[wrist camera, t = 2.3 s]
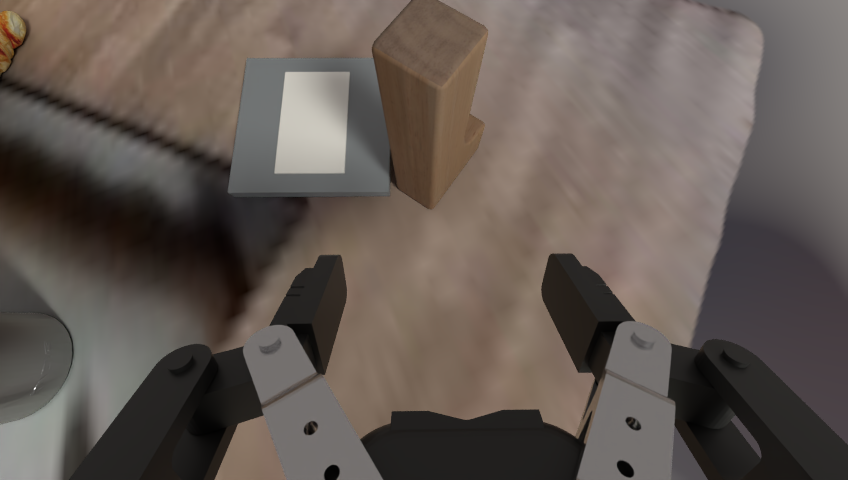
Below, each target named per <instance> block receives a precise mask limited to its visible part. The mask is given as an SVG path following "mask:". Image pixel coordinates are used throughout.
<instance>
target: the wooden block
mask: <svg viewBox="0 0 848 480" xmlns="http://www.w3.org/2000/svg"><path fill="white" fill-rule="evenodd" d="M487 36H488V30H487V28H486V27H485V26H484V25H482V24H480V23H478V22H476V21H475V20H473V19H471V18H469V17H467V16H466V15H464V14H462V13H460V12H458V11H457V10H455V9H453V8H451V7H449V6H447V5H446V4H444V3H442V2H440V1H438V0H411V1H410V2H409V4H408V5H407V6H406V7H405V8H404V9H403V10H402V11H401V12H400V14H399V15H398V16H397V17H396V18H395V19H394V20H393V21H392V22H391V24H390V25H389V26H388V27H387V28H386V29H385V30H384V31H383V32H382V33H381V35H380V36H379V37H378V38H377V39H376V40H375V41H374V44H373V46H372V53H373V59H374V64H375V69H376V75H377V80H378V86H379V91H380V96H381V102H382V107H383V112H384V118H385V123H386V128H387V134H388V139H389V145H390V150H391V155H392V161H393V166H394V171H395V177H396V182H397V187H398V189H399V190H401V191H402V192H404V193H405V194H407V195H408V196H410V197H411V198H413V199H414V200H416V201H418V202H419V203H421V204H422V205H424V206H425V207H427V208H428V209H433V208H434V207H435V206H436V204H437V203H438V202H439V200H440V199H441V198H442V196H443V195H444V194H445V192H446V191H447V189H448V188H449V187H450V185H451V184H452V183H453V181H454V180H455V179H456V177H457V176H458V174H459V173H460V172H461V170H462V169H463V168H464V166H465V165H466V163H467V162H468V161H469V159H470V158H471V157H472V155H473V154H474V153H475V151H476V150H477V148H478V146H479V142H480V139H481V136H482V133H483V130H484V127H485V124H484V123H483V122H482V121H481V120H479V119H477V118H476V117H474V116H472V115H471V114H470V110H471V106H472V101H473V97H474V93H475V88H476V84H477V80H478V75H479V71H480V67H481V63H482V58H483V54H484V50H485V45H486V41H487Z"/></svg>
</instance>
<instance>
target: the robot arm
mask: <svg viewBox="0 0 848 480" xmlns="http://www.w3.org/2000/svg"><path fill="white" fill-rule="evenodd" d="M290 287H291V288H290V289H289V290H288V292H287V294H286V297H285V298H284V299H283V301H282V303H281V305H280V307H279V309H278V311H277V312H276V314H275V316H274V318H273V320H272V322H271V324H270V326H268V327H266V328H263V329H261V330H259V331H257V332H256V333H254V334H253V335H252V336H251V337H250V338H249V339H248V340H247V341H246V343H245V345H244V346H243V347H240V348H236V349H232V350H229V351H225V352H221V353H217V354H212V352H211V350H210V349H209V347H207V346H205V345H202V344H193V345H188V346H184V347H181V348H179V349H176V350H175V351H173V352H171V353H169V354H168V355H166V356H165V357H164V358H162V359H161V360H160V361H159V362H158V363H157V364H156V366H155V367H154V368H153V369H152V371H151V372H150V373H149V375H148V376H147V377H146V379H145V380H144V381H143V383H142V384H141V385H140V387H139V388H138V389H137V391H136V392H135V393H134V394H133V396H132V397H131V398H130V400H129V401H128V402H127V404H126V405H125V406H124V408H123V409H122V410H121V412H120V413H119V414H118V416H117V417H116V418H115V420H114V421H113V422H112V424H111V425H110V426H109V428H108V429H107V430H106V431H105V433H104V434H103V435H102V437H101V438H100V439H99V441H98V442H97V443H96V445H95V446H94V447H93V449H92V450H91V451H90V453H89V454H88V455H87V457H86V458H85V459H84V461H83V462H82V463H81V465H80V466H79V467H78V468H77V470H76V471H75V472H74V474H73V475H72V476H71V478H70V479H69V480H214V479H215V477H216V475H217V472H218V470H219V467H220V465H221V463H222V460H223V458H224V456H225V453H226V451H227V448H228V446H229V444H230V441H231V439H232V437H233V434H234V432H235V429H236V427H237V425H238V423H241V422H244V421H247V420H250V419H254V418H257V417H260V416H263V415H264V417H265V420H266V423H267V426H268V429H269V431H270V434H271V437H272V440H273V443H274V445H275V448H276V451H277V454H278V457H279V460H280V462H281V465H282V468H283V471H284V474H285V476H286V479H287V480H671V468H672V453H673V438H674V425H675V427H676V428H677V430H678V432H679V433H680V435H681V437H682V438H683V440H684V441H685V443H686V445H687V446H688V448H689V449H690V451H691V453H692V454H693V456H694V458H695V459H696V461H697V462H698V464H699V466H700V467H701V469H702V471H703V472H704V474H705V475H706V477H707V479H708V480H848V445H847V444H846V443H845V442H844V441H843V440H842V439H841V438H840V437H839V436H838V435H837V434H836V433H835V432H834V431H833V430H832V429H831V428H830V427H829V426H828V425H827V424H826V423H825V422H824V421H823V420H822V419H821V418H820V417H819V416H818V415H817V414H816V413H815V412H814V411H813V410H811V408H809V407H808V406H807V405H806V404H805V403H804V402H803V401H802V400H801V399H800V398H799V397H798V396H797V395H796V394H795V393H794V392H793V391H792V390H791V389H790V388H789V387H788V386H787V385H786V384H785V383H784V382H783V381H782V380H781V379H780V378H779V377H778V376H777V375H776V374H775V373H774V372H773V371H772V370H771V369H770V368H769V367H768V366H767V365H766V364H765V363H764V362H763V361H762V360H760V359H759V358H758V357H757V356H756V355H754V354H753V353H751V352H750V351H748V350H747V349H745V348H743V347H741V346H739V345H737V344H734V343H731V342H728V341H724V340H718V339H712V340H708V341H706V342H705V343H704V345H703V346H702V347H701V349H700V350H696V349H692V348H687V347H683V346H679V345H674V344H670V342H669V340H668V339H667V338H666V337H665V336H664V335H663V334H662V333H661V332H659V331H658V330H656V329H655V328H653V327H651V326H649V325H646V324H644V323H640V322H636V321H635V320H634V319H633V318H632V316H631V315H630V314H629V312H628V311H627V310H626V309H625V307H624V306H623V305H622V304H621V302H620V301H619V300H618V299H617V297H616V296H615V295H614V294H612V291H611V290H610V288H609V287H608V286H606V283H605V282H604V281H603V280H602V278H601V277H600V276H599V275H598V274H597V273H595V272H594V271H593V270H591V269H590V268H588V267H587V266H582V265H581V264H580V263H579V261H578V260H577V259H576V257H575V256H574V255H573V254H551V255H550V256H549V258H548V262H547V266H546V270H545V274H544V278H543V282H542V289H541V291H542V298H543V301H544V303H545V305H546V307H547V309H548V312H549V314H550V316H551V318H552V320H553V322H554V324H555V326H556V328H557V330H558V332H559V334H560V336H561V338H562V340H563V342H564V344H565V346H566V348H567V350H568V352H569V354H570V356H571V358H572V360H573V363H574V365H575V367H576V369H577V371H578V373H591V372H592V373H593V375H594V377H595V379H594V382H593V384H592V387H591V390H590V393H589V396H588V400H587V403H586V406H585V409H584V412H583V415H582V419H581V422H580V425H579V428H578V431H577V433H576V436H573V435H571V434H570V433H568V432H566V431H565V430H562V429H560V428H558V427H556V426H554V425H551V424H548V423H544V422H543V420H542V417H541V414H540V411H539V410H501V411H498V412H494V413H491V414H488V415H484V416H481V417H477V418H474V419H470V420H462V419H458V418H454V417H450V416H446V415H442V414H438V413H434V412H430V411H394V412H392V416H391V424H387V425H384V426H382V427H380V428H377V429H375V430H373V431H372V432H370V433H368V434H367V435H365V436H364V437H363V438H361V439H359V437H358V435H357V434H356V432H355V430H354V428H353V427H352V425H351V423H350V422H349V420H348V418H347V416H346V415H345V413H344V411H343V409H342V408H341V406H340V404H339V403H338V401H337V399H336V397H335V396H334V394H333V392H332V390H331V389H330V387H329V385H328V384H327V382H326V380H325V378H324V377H323V375H325V373H326V369H327V366H328V362H329V359H330V355H331V352H332V348H333V345H334V341H335V338H336V334H337V331H338V327H339V324H340V321H341V317H342V314H343V310H344V307H345V303H346V297H347V287H346V280H345V274H344V268H343V262H342V257H341V255H320V256H319V257H318V260H317V262H316V264H315V266H314V268H305V269H304V270H303V271H302V272H301V273H300V274H298V275H297V276H296V277H295V279H294V281H293V283H292V285H291V286H290ZM71 360H72V343H71V339H70V336H69V333H68V332H67V330H66V329H65V327H64V326H63V325H62V324H61V323H60V322H59V321H58V320H57V319H55V318H53V317H51V316H49V315H45V314H40V313H3V312H0V424H4V423H8V422H12V421H16V420H20V419H22V418H25V417H27V416H29V415H31V414H33V413H35V412H36V411H38V410H39V409H41V408H42V407H43V406H45V405H46V404H47V403H48V402H49V401H50V400H51V399H52V398H53V397H54V396H55V394H56V393H57V392H58V391H59V389H60V388H61V386H62V384H63V383H64V381H65V379H66V377H67V375H68V372H69V369H70V366H71ZM735 415H736V416H737V417H738V418H739V419H740V421H741V422H742V423H743V425H744V426H745V427H746V428H747V429H748V431H749V432H750V433H751V435H752V436H753V437H754V438H755V440H756V441H757V443H758V444H759V447H760V450H761V454H762V458H761V459H760V457H759V456H758V455H757V453H756V452H755V451H754V450H753V448H752V447H751V446H750V444H749V443H748V442H747V441H746V439H745V438H744V437H743V435H742V434H741V433H740V432H739V430H738V429H737V428H736V426H735V425H734V424H733V423H732V421H731V419H732V418H733V417H734V416H735Z"/></svg>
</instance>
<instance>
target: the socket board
mask: <svg viewBox="0 0 848 480" xmlns="http://www.w3.org/2000/svg"><path fill="white" fill-rule="evenodd" d="M390 168H391V150H390V145H389V139H388V134H387V128H386V123H385V118H384V112H383V107H382V102H381V96H380V91H379V86H378V80H377V75H376V69H375V64H374V59H373V58H247V62H246V69H245V76H244V82H243V89H242V96H241V103H240V110H239V117H238V124H237V131H236V138H235V145H234V151H233V158H232V165H231V172H230V179H229V186H228V193H229V194H230V195H232V196H233V197H338V196H390Z"/></svg>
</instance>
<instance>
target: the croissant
mask: <svg viewBox="0 0 848 480" xmlns="http://www.w3.org/2000/svg"><path fill="white" fill-rule="evenodd" d="M25 35H26V25H25V22H24V21H23V20H22V18H20V17H19V16H18V14H16V13H14V12H11V11H3V12H2V13H0V75H1V73H2V72H5V71H6V70H7V69H8V68H9V66H10V63H11V60H10V59H11V58H13V55H14V51H13V49H15V48H17V47H18V46H20V45H22V43H23V40H24V37H25ZM0 77H1V76H0Z"/></svg>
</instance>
